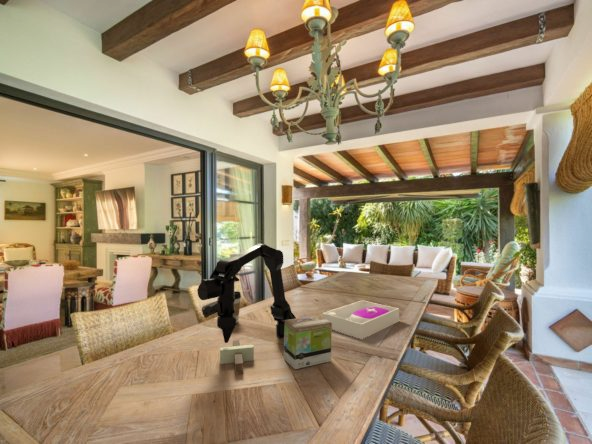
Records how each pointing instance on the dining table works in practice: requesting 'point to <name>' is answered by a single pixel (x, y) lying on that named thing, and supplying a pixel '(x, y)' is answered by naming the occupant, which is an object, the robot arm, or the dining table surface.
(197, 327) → the dining table surface
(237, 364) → the walnut rail
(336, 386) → the dining table surface
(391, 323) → the cream tray
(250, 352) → the pale green pillar
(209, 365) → the dining table surface
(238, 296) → the coffee cup
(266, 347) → the dining table surface
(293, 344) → the tea box
